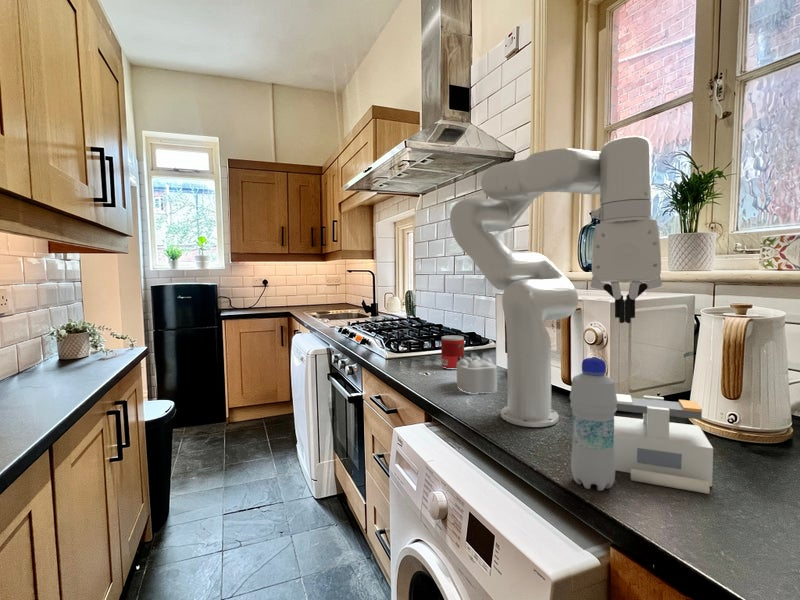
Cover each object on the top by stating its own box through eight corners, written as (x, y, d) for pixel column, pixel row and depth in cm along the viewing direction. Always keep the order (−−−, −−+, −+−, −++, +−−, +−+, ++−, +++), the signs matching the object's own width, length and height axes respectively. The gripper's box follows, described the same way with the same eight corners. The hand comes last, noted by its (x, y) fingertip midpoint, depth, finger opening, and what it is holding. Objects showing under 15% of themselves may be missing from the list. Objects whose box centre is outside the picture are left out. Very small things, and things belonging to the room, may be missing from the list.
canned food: (462, 370, 140) (462, 338, 139) (439, 369, 142) (439, 338, 141) (465, 365, 147) (465, 335, 146) (443, 365, 149) (443, 335, 149)
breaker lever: (615, 402, 75) (615, 393, 74) (695, 410, 69) (695, 400, 69) (616, 410, 70) (616, 401, 70) (701, 419, 65) (702, 409, 65)
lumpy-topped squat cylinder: (465, 395, 112) (465, 364, 112) (451, 383, 125) (451, 355, 124) (501, 392, 114) (501, 362, 113) (483, 380, 127) (483, 353, 126)
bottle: (602, 472, 68) (603, 353, 67) (625, 493, 61) (627, 361, 60) (562, 473, 68) (562, 354, 67) (581, 495, 61) (582, 363, 60)
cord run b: (631, 482, 65) (631, 471, 64) (630, 477, 66) (630, 466, 66) (709, 496, 60) (709, 484, 60) (706, 490, 62) (706, 478, 62)
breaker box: (608, 446, 78) (608, 390, 77) (698, 459, 72) (699, 398, 71) (609, 469, 69) (610, 406, 68) (712, 487, 63) (714, 417, 62)
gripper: (575, 216, 70) (576, 323, 71) (681, 207, 63) (680, 326, 64) (577, 220, 76) (578, 319, 77) (673, 213, 70) (672, 320, 71)
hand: (624, 322), depth 71 cm, fingers closed
